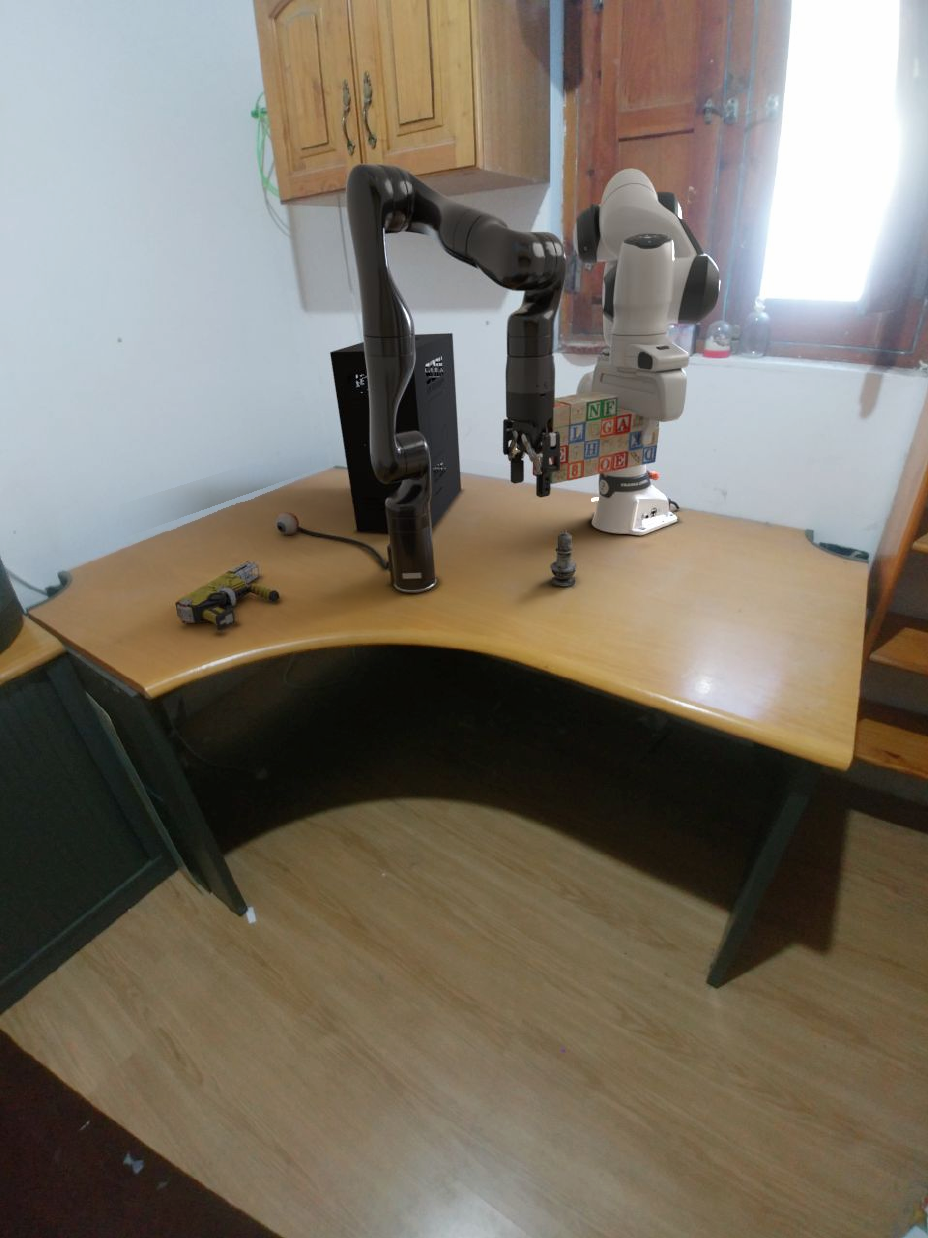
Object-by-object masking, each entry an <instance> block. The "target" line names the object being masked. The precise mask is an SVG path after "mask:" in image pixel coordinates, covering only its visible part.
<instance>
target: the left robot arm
mask: <svg viewBox="0 0 928 1238" xmlns="http://www.w3.org/2000/svg"><path fill="white" fill-rule="evenodd" d="M345 208H346V209H345V210H346V216H347V222H348V228H349V234H350V239H351V245H352V250H353V256H354V263H355V268H356V276H357V284H358V292H359V301H360V310H361V312H360V313H361V327H362V338H363V339H362V340H363V342H364V351H365V360H366V368H367V378H368V389H369V405H370V456H371V462H372V467H373V470H374V473H375V475H376V477H377V478H378V480H379V481H380V482H382V483H384V484H391V483H396V482H400V481H402V483H401V485H400V486H399V487H398V488H397V489H396V490H395V491H394V492H393V493H392V494H391V495H389V496H388V497H387V499H386V501H385V508H386V516H387V524H388V532H389V533H388V540H389V543H388V544H387V545H386V551H387V561H386V562H385V560H384V558H383V557H382V556H381V554H379V552H377V550H375V548H373V547H372V546H370V545H368V544H367V543H364V542H362V541H360V540H355V539H352V538H349V537H343V536H338V535H334V534H328V533H322V532H317V531H313V530H309V529H306V528H303V527H301V526H299V527H298V529H297V531H301V532H303V533H306V534H309V535H313V536H317V537H323V538H328V539H333V540H338V541H344V542H346V543H347V542H348V543H351V544H355V545H358V546H360V547H363V548H365V549H366V550H368V551H370V552H371V553H372V554H373V555H374V556H375V557H376V559H378V560H379V562H380V563H381V565H382V566H383V568H384V569H387V570H388V572H389V576H390V583H391V585H392V586H394V588H395V589H396V590H397V591H399V592H401V593H405V594H418V593H424V592H427V591H429V590H431V589H433V588H434V587H435V586H436V585H437V577H436V564H435V563H436V562H435V553H434V541H433V529H432V527H431V516H430V499H431V462H430V452H429V448H428V444H427V442H426V440H425V438H424V436H423V435H422V434H421V433H420V432H419V431H416V430H408V431H403V432H398V433H395V426H396V414H397V409H398V406H399V403H400V400H401V398H402V396H403V393H404V391H405V389H406V387H407V385H408V382H409V380H410V377H411V375H412V372H413V369H414V366H415V360H416V350H415V335H416V332H415V324H414V318H413V316H412V314H411V310H410V308H409V307H408V305H407V302H406V301H405V299H404V297H403V295H402V294H401V291H400V289H399V288H398V287H397V283H396V281H395V280H394V278H393V276H392V272H391V270H390V266H389V260H388V252H387V245H386V244H387V243H386V242H387V241H386V235H395V234H400V233H411V234H419V235H423V236H426V237H428V238H431V239H433V240H434V241H435V242H436V244H437V245H438V246H439V248H440V249H441V250H442V251H444V252H445V253H446V254H447V255H448V256H450V257H451V258H453V259H455V260H457V261H459V262H462V263H464V264H466V265H468V266H470V267H472V268H474V269H476V270H480V272H481V273H483V274H484V275H485V276H486V277H488V279H490V280H491V281H492V282H493V283H495V284H496V285H498V286H500V287H501V288H504V289H506V290H509V291H512V292H523V297H522V301H521V304H520V306H519V308H518V309H516V310H515V311H513V312H511V313H510V315H508V317H507V320H506V363H505V416H506V418H505V419H503V421H502V454H503V455H504V456H507V459H508V461H509V463H510V483H512V484H520V483H523V482H524V479H525V460H524V457H525V456H526V455H527V456H528V458H529V461H530V462H531V463H532V464H533V463H534V465H535V468H536V471H537V474H536V476H535V477H536V478H535V486H536V487H535V494H536V497H538V498H545V497H549V496H550V495H551V490H552V489H551V488H552V487H551V485H552V484H551V473H552V472H557V471H560V434H559V432H548V428H547V422H548V420H549V419H551V418H552V417H553V408H554V406H555V398H556V396H555V395H556V364H555V322H556V319H557V314H558V311H559V308H560V303H561V299H562V293H563V289H564V286H565V285H564V284H565V281H566V280H565V279H566V274H567V256H566V251H565V248H564V245H563V243H562V241H561V239H560V238H559V237H558V236H557V235H556V234H554V233H552V232H549V231H520V230H519V231H518V230H516V229H515V230H514V229H511V228H510V227H509V226H508V224H507V223H506V222H505V221H504V220H503V219H502V218H500V217H498V216H496V215H494V214H491V213H489V212H488V211H487V212H486V211H484V210H481V209H479V208H476V207H473V206H472V205H468V204H465V203H463V202H460V201H458V200H455V199H452V198H450V197H448V196H447V195H444V194H443V193H440V192H439V191H437V190H436V189H434V188H433V187H432V186H430V185H428V184H427V183H425V182H424V181H422V180H421V179H420V178H419V177H418V176H416V175H415V174H413V173H411V172H410V171H408V170H406V169H405V168H403V167H401V166H398V165H393V164H376V163H358V164H355V165H354V166H353V167H352V168H351V169H350V171H349V172H348V175H347V178H346V183H345ZM541 451H542V453H541ZM550 457H553V464H552V461H551V458H550ZM541 460H542V462H543V466H542V465H541V462H540V461H541Z"/></svg>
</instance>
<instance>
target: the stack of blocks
mask: <svg viewBox="0 0 928 1238" xmlns="http://www.w3.org/2000/svg"><path fill="white" fill-rule="evenodd" d="M643 418H644V417H642V416H638V415H636V413H635V412H632V411H628V410H624V409H621V408H618V396H613V395H609V394H604V393H600V392H596V391H595V392H589V393H582V394H576V393H575V394H568V395H566V396H559V397H558V396H557V397H555V406H554V408H553V417H552V418H551V419H549V420H548V422H547V428H548V432H559V434H560V471H557V472H552V473H551V484H550V485H553V484H559V483H564V482H569V481H574V480H580V479H583V478H587V477H588V478H589V477H594V476H599V474H601V473H606V472H611V471H615V470H620V469H625V468H630V467H634V466H639V465H644V464H647V465H649V464H653V463H656V460H657V451H658V443H659V435H660V423H659V424H658V425H657V427H656V429H655V430H654V432H653V433H652V441H651V443H650V444H646V445H644V444H641V443H638V433H640V432H642V431H643V429H644V426H645V424H643ZM541 453H542V451H541ZM550 458H551V461H552V464H553V457H550ZM540 462H541V465H542V466H543V462H542V460H541V461H540ZM536 474H537V471H536V468H535V465H534V463H533V462H532V476H534V477H536Z"/></svg>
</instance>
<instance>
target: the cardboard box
mask: <svg viewBox="0 0 928 1238" xmlns="http://www.w3.org/2000/svg"><path fill="white" fill-rule="evenodd" d="M415 350H416V360H415V366H414V369H413V372H412V375H411V377H410V380H409V382H408V385H407V387H406V389H405V391H404V393H403V396H402V398H401V400H400V403H399V406H398V409H397V414H396V426H395V433H398V432H403V431H408V430H416V431H419V432H420V433H421V434H422V435H423V436H424V438H425V440H426V442H427V444H428V448H429V452H430V462H431V499H430V516H431V527H432V530H433V529H434V527H435V526H436V525H437V523H438V522H439V521H440V519H441V518H442V516H443V515H444V514H445V513H446V511H447V509H448V508H449V507H450V506H451V504H452V503H453V501H454V500H455V499H456V498H457V496H458V495H459V493H460V492H461V491H462V481H461V461H460V443H459V427H458V426H459V425H458V409H457V391H456V390H457V389H456V388H457V387H456V371H455V356H454V355H455V354H454V353H455V352H454V334H453V332H451V333H450V332H447V333H420V334H419V333H417V334H416V333H415ZM329 355H330V361H331V362H330V363H331V369H332V375H333V381H334V382H333V383H334V388H335V396H336V401H337V408H338V415H339V422H340V426H341V427H340V429H341V436H342V441H343V449H344V456H345V461H346V468H347V475H348V481H349V482H348V483H349V488H350V495H351V496H350V497H351V501H352V508H353V515H354V522H355V528H356V532H358V533H379V534H389V532H388V524H387V516H386V508H385V501H386V499H387V497H388V496H389V495H391V494H392V493H393V492H394V491H395V490H396V489H397V488H398V487H399V486H400V485H401V483H402V481H400V482H396V483H391V484H384V483H382V482H380V481H379V480H378V478H377V477H376V475H375V473H374V470H373V467H372V462H371V456H370V405H369V389H368V378H367V368H366V360H365V351H364V341H361V342H359V343H356V344H353V345H349V346H345V347H343V348H342V347H341V348H339V349H336V350H333V351H330V352H329ZM433 361H434V363H433Z"/></svg>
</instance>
